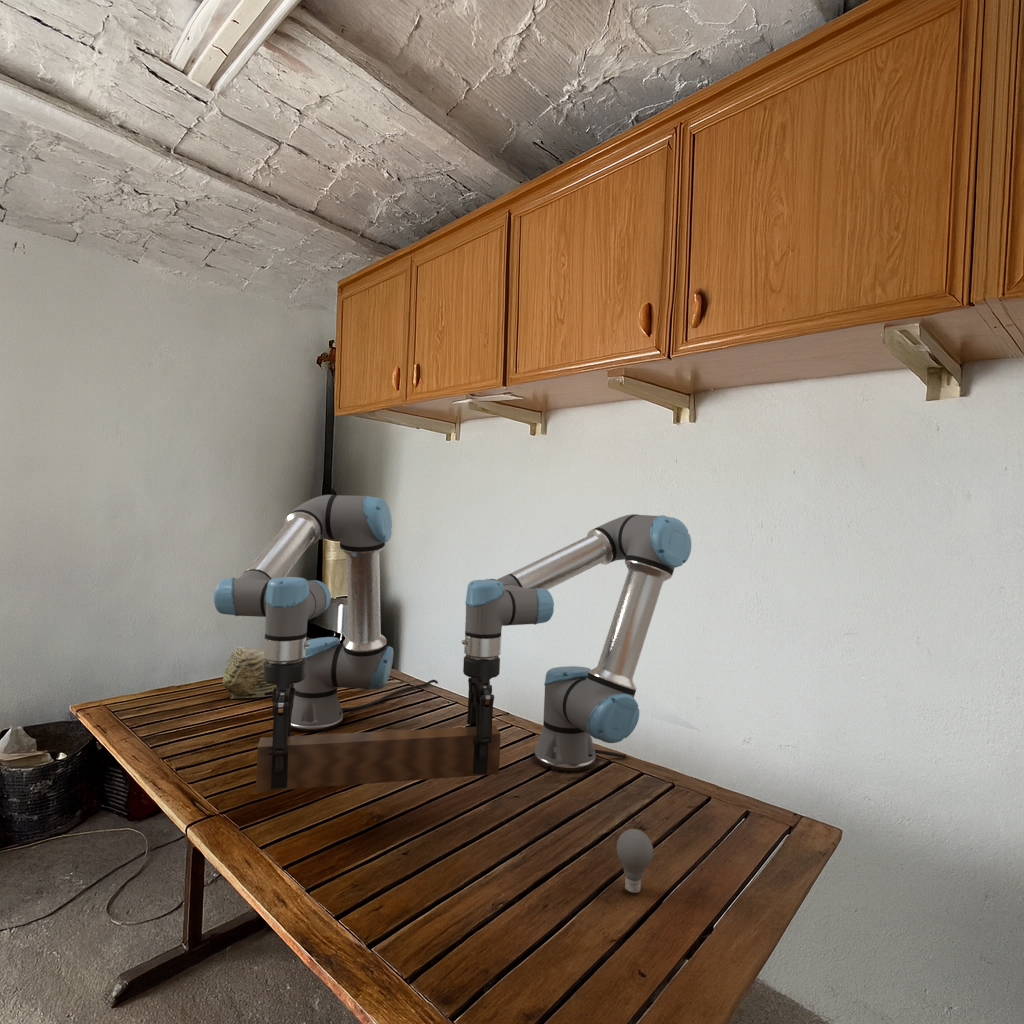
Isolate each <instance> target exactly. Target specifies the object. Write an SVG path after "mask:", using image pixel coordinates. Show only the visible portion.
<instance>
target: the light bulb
mask: <svg viewBox="0 0 1024 1024" xmlns="http://www.w3.org/2000/svg"><path fill="white" fill-rule="evenodd" d="M615 849H616V854H617V857H618V859H619V861H620V863H621V865H622V867H623V873H624V874H623V875H624V876H625V878H624V888H625V890H627V891H628V892H630V893H634V894H635V893H639V892H640V891H641V889H642V887H641V886H642V879H643V877H644V875H645V871H646V868H647V867H648V866H649V864H650V863H651V861H652V859H653V855H654V847H653V843H652V841H651V838H649V836H648V835H647V834H646V833H645V832H643V831H642V830H641V829H636V828H629V829H627V830H625V831H623V832H622V833H621V834H620V835H619V837H618V839H617V841H616V847H615Z"/></svg>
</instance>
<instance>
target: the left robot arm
mask: <svg viewBox="0 0 1024 1024" xmlns="http://www.w3.org/2000/svg"><path fill="white" fill-rule="evenodd" d="M392 521H393V520H392V514H391V511H390V507H389V505H388V503H387V501H386V500H385V499H384V498H382V497H377V496H369V495H344V494H343V495H342V494H341V495H340V494H338V495H337V494H336V495H335V494H322V495H320V496H315V497H313V498H311V499H309V500H306V501H305V502H303V503H302V504H300V505H298V506H296V507H295V508H294V509H293V510H292V511H290V512H289V514H288V515H286V517H285V519H284V520H283V523H282V528H281V529H280V530H279V532H278V533H277V534H276V535H275V536H274V537H273V538H272V539H271V541H269V543H268V544H267V545H266V546H265V547H264V549H262V551H261V552H260V553H259V555H257V557H256V558H255V559H254V560H253V561H252V563H251V564H250V565H249V566H248V567H247V568H246V570H245V571H243V573H242V574H241V575H240V576H238V578H235V577H230V578H228V577H227V578H223V579H220V581H219V582H218V583H217V584H216V586H215V588H214V593H213V604H214V607H215V611H217V612H218V613H219V614H222V615H227V616H228V615H229V616H235V617H258V618H260V617H261V618H265V627H264V629H265V630H264V631H265V633H264V641H263V650H264V658H265V659H266V661H265V662H264V672H263V679H264V681H265V682H267V683H269V684H275V685H277V688H274V689H273V692H272V696H271V702H272V709H271V710H272V713H271V715H272V716H273V717H272V718H273V720H272V722H273V723H272V737H273V743H272V751H269V755H272V779H271V789H278V788H287V770H288V749H287V745H288V736H295V734H294V733H293V734H291V732H292V731H294V732H295V731H296V732H301V733H316V732H325V731H329V730H332V729H335V728H337V727H339V726H340V725H342V723H343V722H344V714H343V712H350V711H355V710H360V709H364V708H367V707H370V706H371V707H372V706H374V705H376V704H378V703H381V702H383V701H384V700H387V699H388V698H391V697H393V696H395V695H398V694H400V693H403V692H407V691H410V690H414V689H418V688H423V687H426V686H428V685H430V684H432V683H435V684H437V685H438V684H439V681H438V680H436V679H431V680H428V681H427V682H424V683H421V684H416V685H412V686H408V687H404V688H400V689H398V690H396V691H393V692H390V693H388V694H386V695H384V696H382V697H381V698H379V699H376V700H374V701H371V702H368V703H364V704H361V705H357V706H350V707H342V706H341V702H340V699H339V695H338V688H344V689H360V690H361V689H363V690H367V691H370V690H382V689H383V688H384V687H385V686H386V685H387V684H388V681H389V678H390V675H391V671H392V667H393V661H394V653H395V652H394V648H393V647H392V646H390V645H388V646H387V637H385V636H384V635H383V634H381V633H382V632H381V630H382V629H381V628H382V627H381V573H380V572H381V571H380V568H381V567H380V552H381V551H382V550H384V548H386V543H387V542H389V541H390V539H391V538H392V532H393V531H392V528H393V523H392ZM319 540H338V541H339V549H340V550H341V551H342V552H344V553H345V557H346V558H345V559H346V560H345V561H346V591H347V593H346V595H347V626H348V627H347V628H348V636H347V637H346V638H345V639H344V640H343V642H342V643H341V641H340V639H339V638H338V637H334V636H325V637H316V638H312V639H307V637H308V635H307V634H308V633H307V632H308V621H309V620H311V619H314V618H318V617H319V616H321V615H322V614H323V613H324V612H325V611H326V610H327V609H328V608H329V607H330V604H331V601H332V595H331V591H330V589H329V586H327V585H326V584H325V583H324V582H323V581H320V580H315V579H313V580H311V579H310V580H309V579H308V580H307V579H306V578H305V577H298V576H287V575H288V574H289V573H290V571H291V570H292V569H293V567H294V566H295V565H296V564H297V562H298V561H299V560H300V558H301V557H302V555H303V554H304V553H305V551H306V550H307V549H308V548H309V547H311V546H313V545H315V544H316V543H317V542H318V541H319Z"/></svg>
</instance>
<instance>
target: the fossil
mask: <svg viewBox="0 0 1024 1024" xmlns="http://www.w3.org/2000/svg"><path fill="white" fill-rule="evenodd" d="M265 661H266V659H265V658H264V648H260V647H258V648H251V647H247V646H246V647H245V646H238V647H237V648H236V649H235V650H233V651H232V653H231V656H230V657H229V659H228V660H227V663H226V666H225V668H224V671H223V675H222V676H223V677H222V685H223V687H224V688H225V690H226V691H228V693H229V698H230V699H250V698H264V697H272V692H273V689H274V688H277V685H275V684H269V683H267V682H265V681H264V679H263V672H264V662H265Z"/></svg>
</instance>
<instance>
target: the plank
mask: <svg viewBox="0 0 1024 1024" xmlns="http://www.w3.org/2000/svg"><path fill="white" fill-rule="evenodd" d="M501 736H502V734H501V732H500V731H499V729H498V727H497V726H496V725H492V741H491V743H488V763H487V774H477V775H474V774H473V767H474V744H473V740H476V727H469V726H465V727H461V728H453V727H447V728H446V727H445V728H444V727H442V728H425V729H405V730H403V729H402V730H386V731H385V730H384V731H366V732H364V731H363V732H346V733H345V732H344V733H327V734H308V735H307V734H306V735H305V734H304V735H294V736H288V745H287V749H288V770H287V788H278V789H271V779H272V755H269V751H272V743H273V736H269V737H267V736H266V737H260V739H259V741H258V744H257V748H256V749H257V753H256V774H255V775H256V776H255V777H256V778H255V792H256V793H258V792H270V791H284V790H285V791H287V790H298V789H300V790H301V789H312V788H314V789H315V788H325V787H341V786H354V785H367V784H382V783H395V782H411V781H424V780H436V779H452V778H464V777H466V778H467V777H478V776H480V777H481V776H493V775H499V774H500V761H501Z"/></svg>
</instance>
